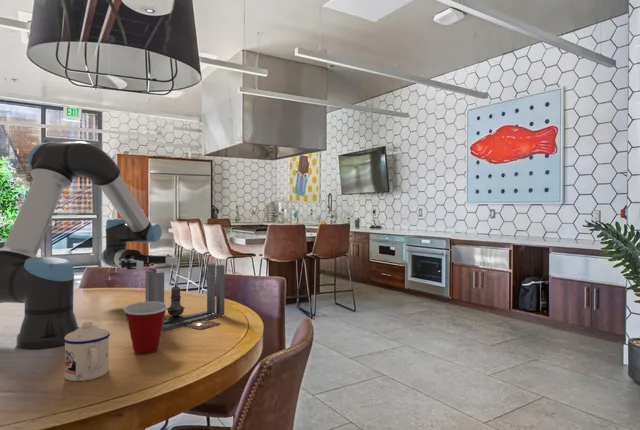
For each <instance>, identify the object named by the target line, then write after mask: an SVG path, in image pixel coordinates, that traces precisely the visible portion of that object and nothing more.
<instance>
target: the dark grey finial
mask: <svg viewBox="0 0 640 430" xmlns="http://www.w3.org/2000/svg"><path fill="white" fill-rule="evenodd" d="M170 291H171V293H170V294H171V296H170V297H169V298H170V299H171V300H170V306H168V307H167V309H166V311H167V314H168V315H169V317H167V320H169V319H174V318H178V317H183V316H182V315H183V314H184V312H185V308H186V307H185V306H182V305H181V298H182V296H181V288H180V286H178V285H177V283H175V284H174V286H173V287H171V290H170Z"/></svg>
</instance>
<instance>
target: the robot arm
mask: <svg viewBox="0 0 640 430" xmlns="http://www.w3.org/2000/svg"><path fill="white" fill-rule="evenodd" d="M27 162H28V163H29V164H28V168H29V170H30V176H31V178H32V182H31V185H30V186H29V189H28V191H27V192H26V196H25V198H24V201H23V202H22V205H21V206H20V208H19V212H18V214H17V216H16V218H15V219H14V222H13V224H12V227H11V229H10V231H9V233H8V236H7V238H6V239H5V242H4V245H3V247H0V304H2V303H9V304H10V303H11V304H12V303H13V304H24V315H23V316H24V317H23V321H22V323H21V325H20V330H19V333H18V334H17V336H16V347H17V348H20V349H25V350H26V349H27V350H28V349H29V350H30V349H31V350H35V349H36V350H38V349H47V348H54V347H59V346H63V345H64V346H65V342H64V337H65V336H66V335H67V334H69V333H71V332H74V331H75V330H77V329H78V328H80V327H79V325H78V322H77V318H76V315H75V312H74V292H75V291H74V288H75V287H74V285H75V284H74V282H75V281H74V280H75V273H74V265H73V263H72V262H71V261H70V260H68V259H65V258H61V257H53V256H50V257H48V256H37V255H38V253H39V249H40V248H41V245H42V242H43V240H44V238H45V236H46V233H47V231H48V228H49V225H50V223H51V221H52V218H53V215H54V214H55V213H54V212H55V210H56V209H57V205H58V203H59V200H60V198H61V195H62V193H63V191H64V190H65V189H68V188H70V187H71V185H72V182H73V181H74V178H85V179H89V180H90V181H91V182H92V184H93V185H94V186H96V187H99V188H100V189H101V191H102V192H103V194H104V195H105V197H107V199H108V200H109V203H111V204H112V206H113V208H114V209H115V210H116V211H117V213H118V215H120V217H121V218H107V219H106V222H105V223H106V225H105V249H104V250H103V251H102V253H101V255H100V256H101V261H102V263H104V264H105V265H106V266H110V267H114V268H121V269H123V270H138V269H139V270H144V265H151V264H167V265H172V266H177V265H178V257H175V256H172V255H170V254H167V255H152V254H148V255H147V254H142V252H141V251H139V250H137V249H131V248H127V245H128V244H127V243H148V244H150V243H158V242H159V241H160V240H161V237H162V233H163V232H162V227H161V225H160V224H158V223H155V222H153V223H151V221H150V220H149V219H148V217H147V215H146V214H145V213H144V210H143V209H142V207H141V206H140V205H139V203H138V202H137V200H136V198H135V197H134V195H133V193H132V192H131V191H130V189H129V187H128V186H127V184H126V182H125V181H124V180H123V178H122V177H121V169H120V168H119V166H118V165H117V164H116V161H114V159H113V158H112V157H111V156H109V154H107V153H106V152H105V151H104V150H103V149H101V148H100V147H98V146H97V145H95V144H92V143H90V142H86V141H59V142H58V141H48V142H42V143H41V142H40V143H39V144H36V145H35V146H33V147H32V149H31V150H30V151H29V154H28V157H27Z"/></svg>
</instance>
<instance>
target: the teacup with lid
mask: <svg viewBox="0 0 640 430" xmlns="http://www.w3.org/2000/svg"><path fill="white" fill-rule="evenodd" d="M110 336H111V334H110V331H109V330H108V329H106V328H101V327H99V326H95V325H93V322H91V321H84V322H83V323H82V324H81V327H79V328H78V329H77V330H75V331H74V332H71V333H69V334H67V335H66V336H65V337H64V342H65V344H64V377H65V378H64V379H66V380H68V381H71V382H85V381H91V380H95V379H98V378H101V377H103V376H104V375H106V374H107V373H108V372H109V365H110V364H109V360H110V357H109V343H110V342H109V337H110Z"/></svg>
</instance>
